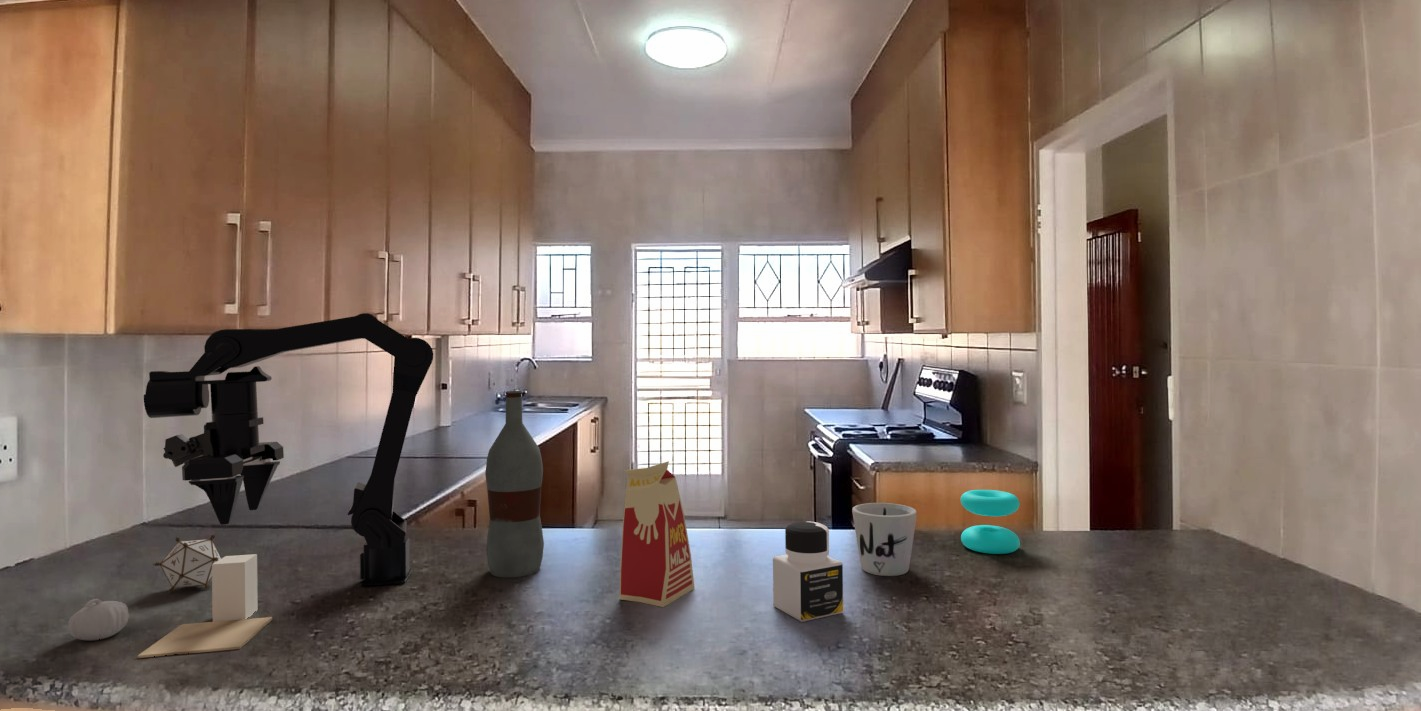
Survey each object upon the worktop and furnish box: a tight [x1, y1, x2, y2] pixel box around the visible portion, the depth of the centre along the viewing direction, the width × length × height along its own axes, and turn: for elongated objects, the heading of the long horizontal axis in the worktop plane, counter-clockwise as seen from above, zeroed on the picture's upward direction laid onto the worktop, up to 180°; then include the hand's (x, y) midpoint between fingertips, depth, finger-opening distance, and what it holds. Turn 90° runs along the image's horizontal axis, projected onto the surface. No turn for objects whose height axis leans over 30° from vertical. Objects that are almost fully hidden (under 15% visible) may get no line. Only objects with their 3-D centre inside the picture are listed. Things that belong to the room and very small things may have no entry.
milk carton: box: [618, 461, 695, 608], centre depth 105 cm, size 9×9×20 cm
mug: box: [851, 502, 918, 577], centre depth 117 cm, size 10×15×10 cm
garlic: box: [67, 598, 130, 641], centre depth 90 cm, size 6×5×5 cm
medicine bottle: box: [772, 520, 844, 623], centre depth 97 cm, size 7×7×12 cm
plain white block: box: [211, 553, 259, 622], centre depth 97 cm, size 4×4×8 cm
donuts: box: [960, 489, 1021, 555], centre depth 127 cm, size 10×10×10 cm
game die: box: [152, 533, 223, 594], centre depth 109 cm, size 9×8×10 cm
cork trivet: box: [137, 616, 273, 659], centre depth 90 cm, size 11×10×1 cm
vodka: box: [484, 390, 545, 579], centre depth 117 cm, size 9×9×30 cm
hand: (239, 516), depth 105 cm, fingers open, 9 cm apart
